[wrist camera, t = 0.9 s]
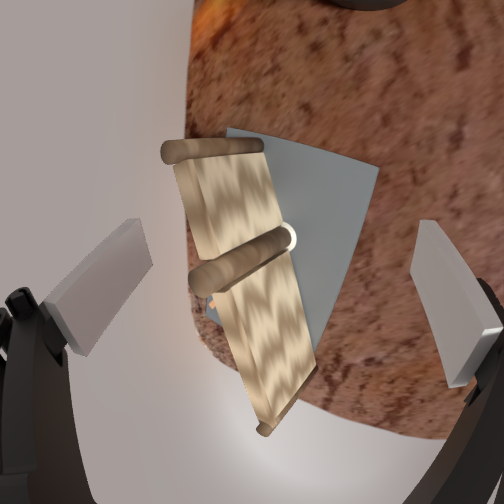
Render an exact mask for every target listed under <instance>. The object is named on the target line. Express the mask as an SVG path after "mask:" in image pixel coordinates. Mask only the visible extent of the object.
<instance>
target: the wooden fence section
mask: <svg viewBox="0 0 504 504" xmlns="http://www.w3.org/2000/svg"><path fill="white" fill-rule="evenodd" d="M263 150H264V142H263V140H262V139H261V138H258V137H227V138H199V139H181V140H168V141H165V142H164V143H163V144H162V146H161V158H162V160H163V162H164V163H165V164H167V165H170V164H176V165H174V166H173V169H174V173H175V176H176V180H177V183H178V187H179V191H180V194H181V197H182V201H183V204H184V208H185V211H186V215H187V218H188V221H189V225H190V228H191V231H192V235H193V238H194V241H195V244H196V248H197V251H198V254H199V257H200V260H207V259H213V260H211V261H209V262H207V263H205V264H203V265H201V266H199V267H197V268H195V269H193V270H191V271H190V272H189V274H188V282H189V285H190V288H191V289H192V291H193V292H194V293H195V294H196V295H197V296H198V297H200V298H207V297H208V296H210V295H212V294H213V293H215V292H217V291H218V290H220V289H221V288H223V287H224V286H226V285H228V284H229V283H231V282H232V281H234V280H236V279H237V278H239V277H240V276H242V275H244V274H245V273H247V272H248V271H250V270H252V269H253V268H255V267H256V266H258V265H259V264H261V263H263V262H264V261H266V260H267V259H269V258H270V257H272V256H274V255H275V254H277V253H278V252H280V251H281V250H283V249H285V248H286V247H288V246H289V245H290V244H291V241H292V237H291V234H290V232H289V230H288V229H286V228H285V227H278V226H280V225H282V224H283V220H282V216H281V212H280V209H279V205H278V201H277V198H276V194H275V190H274V187H273V183H272V180H271V176H270V173H269V169H268V166H267V162H266V159H265V155H264V153H261V152H263ZM177 163H178V164H177ZM276 227H277V228H276ZM274 228H275V229H274ZM272 229H273V230H272ZM270 230H271V231H270ZM267 231H269V232H267ZM265 232H267V233H265ZM263 233H265V234H263ZM261 234H263V235H261ZM259 235H261V236H259ZM257 236H259V237H257ZM255 237H257V238H255ZM253 238H255V239H253ZM251 239H253V240H251ZM249 240H251V241H249ZM247 241H249V242H247ZM245 242H247V243H245ZM243 243H245V244H243ZM241 244H243V245H241ZM239 245H241V246H239ZM237 246H239V247H237ZM235 247H237V248H235ZM233 248H235V249H233ZM231 249H233V250H231ZM229 250H231V251H229ZM227 251H229V252H227ZM225 252H227V253H225ZM223 253H225V254H223ZM221 254H223V255H221ZM220 255H221V256H220ZM218 256H219V257H218ZM216 257H217V258H216ZM214 258H215V259H214Z"/></svg>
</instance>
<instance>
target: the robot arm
mask: <svg viewBox="0 0 504 504" xmlns="http://www.w3.org/2000/svg"><path fill="white" fill-rule="evenodd" d="M329 1H331V2H333V3H335V4H338V5H340V6H343V7H347V8H351V9H356V10H381V9H387V8H391V7H394V6H397V5H399V4H401V3H403V2H405V1H407V0H329ZM152 266H153V264H152V260H151V256H150V253H149V250H148V246H147V243H146V239H145V236H144V232H143V228H142V224H141V220H140V218H138V219H127V220H126V221H125V222H124V223H123V224H122V225H120V226H119V227H118V228H117V229H116V230H115V231H114V232H112V233H111V234H110V235H109V236H108V237H107V238H106V239H105V240H104V241H103V242H101V243H100V244H99V245H98V246H97V247H96V248H95V249H94V250H93V251H92V252H91V253H90V254H89V255H88V256H86V257H85V258H84V259H83V260H82V261H81V262H80V263H79V264H78V265H77V266H76V267H75V268H74V269H73V270H72V271H71V272H70V273H69V274H68V275H67V276H66V277H65V278H64V279H63V280H62V281H61V282H60V283H59V284H58V285H57V286H56V288H55V289H54V290H53V291H52V292H51V293H50V294H49V295H48V296H47V297H46V298H45V299H44V300H43V302H42V303H41V304H40V305H39V306H38V304H37V303H36V301H35V299H34V297H33V295H32V293H31V291H30V290H29V288H28V287H22V288H19V289H17V290H15V291H14V292H13V293H11V294H10V295H9V296H8V297H7V299H6V301H5V304H6V305H7V307H8V309H9V311H10V312H11V314H12V316H13V317H10V315H9V313H8V312H7V310H6V309H5V308H0V348H2V349H3V350H4V352H5V353H6V354H7V361H5V360H4V359H3V357H2V356H1V354H0V504H97V503H96V502H95V501H94V499H93V497H92V495H91V492H90V488H89V485H88V481H87V478H86V474H85V470H84V466H83V462H82V458H81V454H80V449H79V444H78V439H77V434H76V428H75V422H74V417H73V416H74V415H73V408H72V401H71V393H70V383H69V371H68V358H67V357H68V356H67V352H66V350H65V349H64V347H65V345H66V344H67V343H68V344H69V346H70V347H71V349H72V350H73V352H74V353H76V354H79V355H82V356H86V357H87V356H88V354H89V353H90V351H91V349H92V348H93V347H94V345H95V344H96V342H97V341H98V339H99V338H100V336H101V335H102V334H103V332H104V331H105V329H106V328H107V326H108V325H109V324H110V322H111V320H112V319H113V318H114V317H115V315H116V314H117V312H118V311H119V310H120V308H121V307H122V305H123V304H124V303H125V301H126V300H127V299H128V297H129V296H130V295H131V293H132V292H133V291H134V289H135V288H136V287H137V285H138V284H139V283H140V281H141V280H142V279H143V277H144V276H145V275H146V273H147V272H148V270H149V269H150V268H151V267H152ZM410 274H411V276H412V279H413V281H414V283H415V286H416V288H417V291H418V293H419V296H420V299H421V301H422V304H423V307H424V309H425V312H426V315H427V318H428V320H429V323H430V326H431V329H432V332H433V335H434V338H435V341H436V344H437V348H438V351H439V354H440V357H441V361H442V364H443V368H444V371H445V375H446V379H447V383H448V387H449V388H453V387H459V386H465V385H467V384H468V383H469V382H470V380H471V379H472V377H473V376H474V374H475V377H476V380H477V384H476V386H475V387H474V388H473V390H472V391H471V392H470V393H469V395H468V396H467V397H466V399H465V400H464V402H467V403H466V405H465V407H464V409H463V411H462V413H461V415H460V417H459V419H458V421H457V423H456V425H455V426H454V428H453V430H452V432H451V434H450V435H449V437H448V439H447V441H446V442H445V444H444V446H443V447H442V449H441V451H440V452H439V454H438V455H437V457H436V459H435V460H434V462H433V463H432V465H431V466H430V468H429V469H428V470H427V472H426V473H425V475H424V476H423V478H422V479H421V480H420V482H419V483H418V484H417V486H416V487H415V488H414V490H413V491H412V492H411V494H410V495H409V496H408V497H407V499H406V500H405V501H404V503H403V504H487V502H488V500H489V498H490V497H491V495H492V493H493V490H494V489H495V487H496V485H497V483H498V481H499V479H500V476H501V474H502V477H501V481H500V484H499V488H498V491H497V495H496V498H495V501H494V504H504V309H503V307H502V305H500V302H499V300H498V298H496V295H495V294H494V292H493V290H492V289H491V287H490V286H489V285H488V284H487V283H486V282H485V281H484V280H482V279H481V278H475V276H474V275H473V273H472V272H471V270H470V268H469V267H468V265H467V264H466V262H465V261H464V259H463V258H462V257H461V255H460V254H459V252H458V251H457V249H456V248H455V246H454V245H453V244H452V242H451V241H450V240H449V238H448V237H447V235H446V234H445V233H444V231H443V230H442V229H441V227H440V226H439V225H438V224H437V222H436V221H435V220H420V225H419V230H418V236H417V241H416V246H415V251H414V255H413V260H412V264H411V269H410ZM467 400H468V401H467ZM502 472H503V473H502Z"/></svg>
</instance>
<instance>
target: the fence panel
mask: <svg viewBox="0 0 504 504" xmlns="http://www.w3.org/2000/svg"><path fill="white" fill-rule="evenodd" d="M212 297H213V300H214V303H215V306H216V309H217V312H218V314H219V317H220V320H221V323H222V326H223V329H224V332H225V334H226V337H227V340H228V343H229V345H230V348H231V351H232V354H233V356H234V359H235V362H236V364H237V367H238V370H239V372H240V375H241V378H242V380H243V383H244V385H245V388H246V391H247V393H248V396H249V398H250V401H251V403H252V406H253V408H254V411H255V413H256V416H257V418H258V420H259V423H260V424H259V425H258V426H257V428H256V431H257V432H258V433H259V434H260V435H262V436H264V437H268V436H269V435H270V434H271V433H272V431H273V430H274V429H275V428H276V426H277V425H278V424H279V423H280V421H281V420H282V419H283V417H284V416H285V415H286V414H287V412H288V411H289V410H290V408H291V407H292V406H293V404H294V403H295V402H296V400H297V399H298V398H299V396H300V395H301V394H302V392H303V391H304V389H305V388H306V387H307V385H308V384H309V382H310V381H311V380H312V378H313V377H314V375H315V374H316V372H317V371H318V366H317V365H316V362H315V357H314V353H313V348H312V344H311V339H310V335H309V331H308V326H307V322H306V318H305V314H304V309H303V305H302V301H301V297H300V293H299V289H298V284H297V280H296V276H295V272H294V268H293V264H292V260H291V257H290V253H289V250H282V251H280V252H278V253H277V254H275V255H274V256H272V257H270V258H269V259H267V260H266V261H264V262H263V263H261V264H259V265H258V266H256V267H255V268H253V269H252V270H250V271H248V272H247V273H245V274H244V275H242V276H240V277H239V278H237V279H236V280H234V281H232V282H231V283H229V284H228V285H226V286H224V287H223V288H221V289H220V290H218V291H217V292H215V293H213V294H212Z"/></svg>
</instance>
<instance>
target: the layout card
mask: <svg viewBox="0 0 504 504" xmlns="http://www.w3.org/2000/svg"><path fill="white" fill-rule="evenodd" d="M227 137H258V138H261V139H262V140H263V142H264V150H263V152H261V153H264V155H265V159H266V162H267V166H268V169H269V173H270V176H271V180H272V183H273V187H274V190H275V194H276V198H277V201H278V205H279V209H280V212H281V216H282V220H283V224H282V225H280V226H278V227H285V228H286V229H288V230H289V232H290V234H291V237H292V241H291V244H290V245H289V246H288V247H286V248H285V249H283V250H289V253H290V257H291V260H292V264H293V268H294V272H295V276H296V280H297V284H298V289H299V293H300V297H301V301H302V305H303V309H304V314H305V318H306V322H307V326H308V331H309V335H310V339H311V344H312V348H313V353H314V352H315V350H316V348H317V345H318V343H319V341H320V339H321V336H322V334H323V331H324V329H325V327H326V324H327V322H328V320H329V317H330V315H331V312H332V310H333V307H334V305H335V302H336V300H337V297H338V294H339V292H340V289H341V287H342V284H343V281H344V279H345V276H346V273H347V270H348V268H349V265H350V262H351V259H352V256H353V253H354V250H355V247H356V245H357V242H358V239H359V236H360V232H361V229H362V226H363V223H364V220H365V217H366V213H367V210H368V207H369V204H370V200H371V197H372V193H373V190H374V186H375V183H376V179H377V175H378V172H379V167H376V166H374V165H371V164H368V163H365V162H362V161H359V160H356V159H353V158H349V157H346V156H343V155H340V154H337V153H333V152H330V151H326V150H323V149H319V148H316V147H312V146H309V145H305V144H301V143H297V142H293V141H289V140H285V139H281V138H277V137H273V136H269V135H264V134H260V133H255V132H250V131H245V130H240V129H235V128H230V127H227V134H226V138H227ZM276 228H277V227H276ZM274 229H275V228H274ZM272 230H273V229H272ZM270 231H271V230H270ZM267 232H269V231H267ZM267 232H265V233H267ZM265 233H263V234H265ZM263 234H261V235H263ZM261 235H259V236H261ZM259 236H257V237H259ZM257 237H255V238H257ZM255 238H253V239H255ZM253 239H251V240H253ZM251 240H249V241H251ZM249 241H247V242H249ZM247 242H245V243H247ZM245 243H243V244H245ZM243 244H241V245H243ZM241 245H239V246H241ZM239 246H237V247H239ZM237 247H235V248H237ZM235 248H233V249H235ZM233 249H231V250H233ZM231 250H229V251H231ZM229 251H227V252H229ZM281 251H282V250H281ZM227 252H225V253H227ZM225 253H223V254H225ZM223 254H221V255H223ZM221 255H220V256H221ZM218 257H219V256H218ZM216 258H217V257H216ZM214 259H215V258H214ZM211 260H213V259H211ZM206 316H207V317H209V318H210V319H212V320H213V321H215V322H216V323H218V324H219V325H221V326H222V323H221V320H220V317H219V314H218V312H217V309H216V306H215V303H214V300H213V297H212V295H210V296H208V297H207V306H206Z"/></svg>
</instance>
